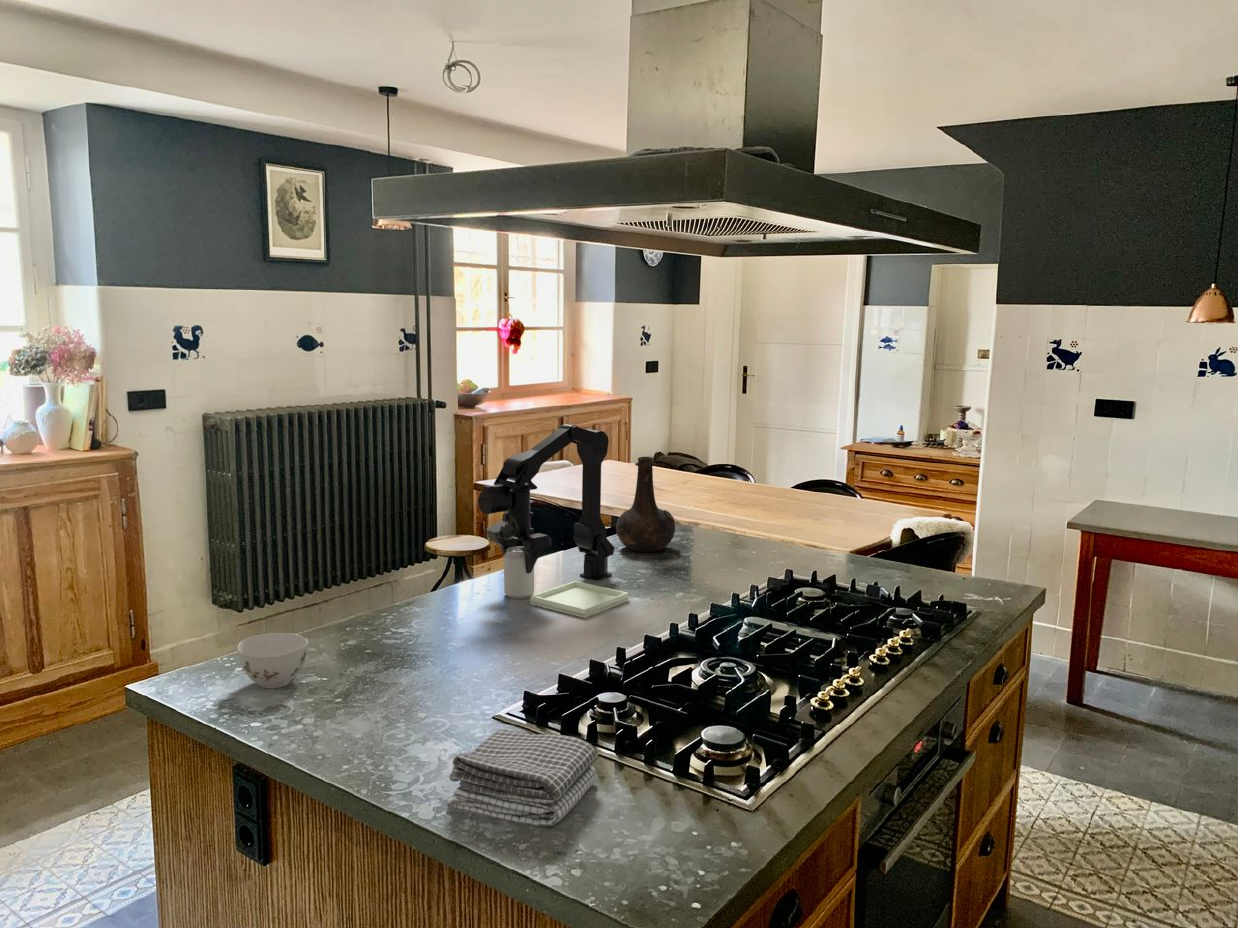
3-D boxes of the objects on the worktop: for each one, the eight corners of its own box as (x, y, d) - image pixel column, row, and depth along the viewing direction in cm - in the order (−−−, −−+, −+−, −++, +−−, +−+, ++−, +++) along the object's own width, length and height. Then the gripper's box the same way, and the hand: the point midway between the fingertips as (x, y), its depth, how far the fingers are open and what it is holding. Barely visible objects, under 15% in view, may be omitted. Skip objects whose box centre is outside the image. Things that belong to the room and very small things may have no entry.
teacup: (278, 700, 168) (276, 658, 167) (223, 690, 173) (221, 649, 171) (331, 671, 182) (329, 632, 181) (279, 662, 187) (277, 624, 185)
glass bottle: (669, 558, 271) (670, 463, 267) (609, 553, 275) (610, 460, 271) (679, 543, 288) (681, 454, 284) (623, 540, 292) (624, 451, 288)
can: (536, 591, 237) (536, 545, 235) (531, 600, 229) (530, 552, 227) (507, 590, 237) (507, 544, 236) (501, 599, 230) (500, 551, 228)
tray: (575, 588, 240) (575, 580, 240) (628, 600, 230) (628, 592, 230) (530, 603, 226) (530, 595, 226) (585, 617, 216) (585, 609, 216)
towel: (559, 835, 126) (559, 780, 125) (441, 809, 132) (440, 757, 131) (600, 783, 140) (600, 734, 139) (491, 762, 146) (490, 715, 145)
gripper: (469, 507, 231) (470, 568, 234) (515, 519, 218) (515, 584, 220) (506, 501, 239) (506, 560, 241) (552, 512, 225) (552, 575, 228)
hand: (519, 569), depth 232 cm, fingers closed on can, 7 cm apart
